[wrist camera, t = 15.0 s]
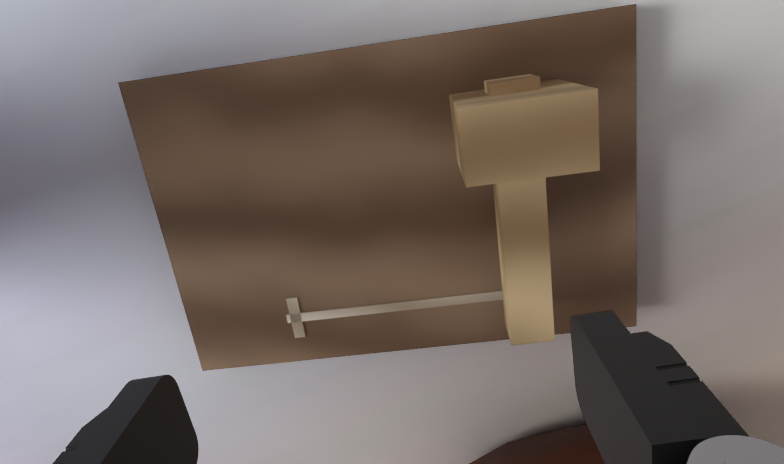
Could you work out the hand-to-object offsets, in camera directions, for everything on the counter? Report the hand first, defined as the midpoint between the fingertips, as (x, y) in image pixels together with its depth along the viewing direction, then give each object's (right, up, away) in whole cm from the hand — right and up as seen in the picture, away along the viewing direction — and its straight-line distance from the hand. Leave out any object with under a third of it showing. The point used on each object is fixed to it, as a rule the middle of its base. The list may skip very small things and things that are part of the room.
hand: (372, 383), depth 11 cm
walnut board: (0, +5, +19) cm, 19 cm away
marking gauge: (+6, +5, +16) cm, 18 cm away
